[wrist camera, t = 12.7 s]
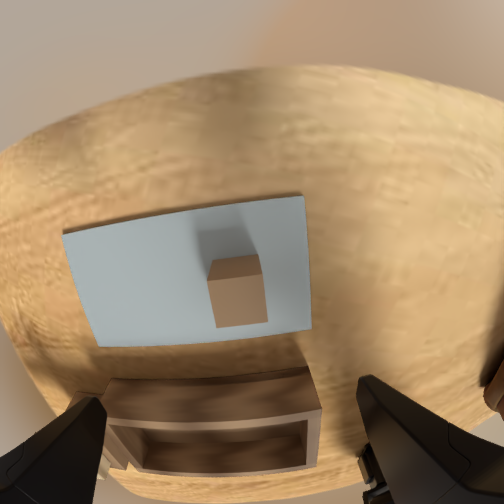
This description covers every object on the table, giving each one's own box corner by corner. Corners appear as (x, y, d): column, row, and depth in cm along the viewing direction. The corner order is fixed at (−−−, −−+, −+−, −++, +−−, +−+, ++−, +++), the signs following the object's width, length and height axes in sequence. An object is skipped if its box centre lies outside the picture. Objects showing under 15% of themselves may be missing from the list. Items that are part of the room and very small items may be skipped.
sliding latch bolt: (99, 450, 16) (92, 467, 14) (110, 463, 17) (105, 480, 15) (35, 431, 16) (27, 445, 14) (47, 445, 17) (40, 458, 15)
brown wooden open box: (308, 366, 21) (338, 464, 12) (307, 430, 24) (325, 507, 15) (66, 374, 21) (24, 441, 12) (105, 433, 24) (82, 494, 15)
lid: (300, 194, 18) (319, 203, 14) (308, 322, 21) (323, 357, 17) (68, 232, 18) (34, 248, 14) (103, 340, 21) (82, 371, 16)
